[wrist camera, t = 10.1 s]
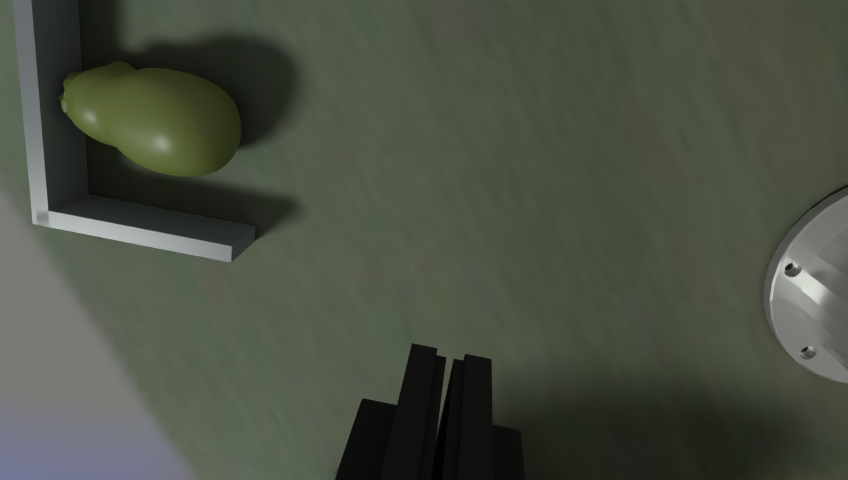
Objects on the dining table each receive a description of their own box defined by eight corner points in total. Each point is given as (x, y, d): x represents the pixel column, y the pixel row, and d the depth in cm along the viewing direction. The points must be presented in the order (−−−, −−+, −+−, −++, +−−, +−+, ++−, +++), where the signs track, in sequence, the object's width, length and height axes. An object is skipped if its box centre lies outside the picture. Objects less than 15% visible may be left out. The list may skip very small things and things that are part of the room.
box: (271, -41, 30) (244, -49, 26) (254, 241, 35) (231, 262, 32) (56, -78, 30) (4, -91, 27) (74, 206, 36) (32, 223, 33)
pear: (197, 200, 29) (36, 149, 31) (254, 178, 34) (111, 135, 36) (204, 89, 27) (31, 42, 29) (263, 83, 32) (111, 43, 33)
